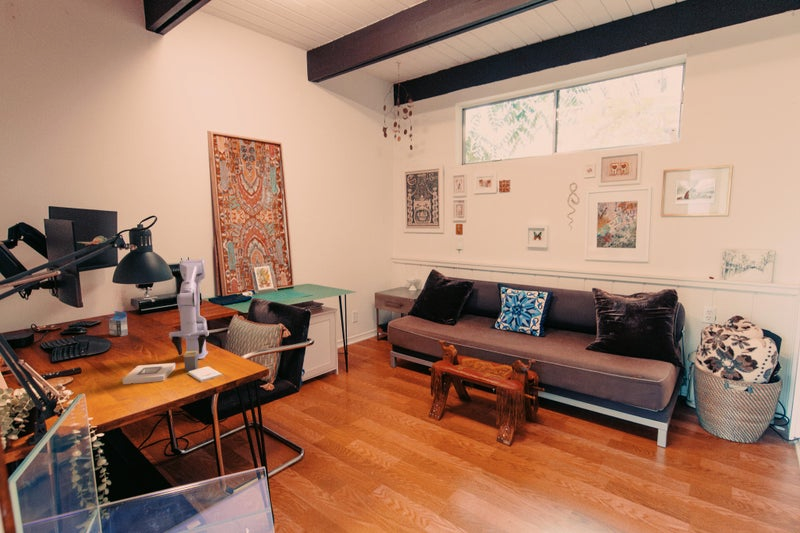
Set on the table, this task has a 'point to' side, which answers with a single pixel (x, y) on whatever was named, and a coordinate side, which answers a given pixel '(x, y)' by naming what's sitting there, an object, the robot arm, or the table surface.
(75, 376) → the table surface
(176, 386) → the table surface
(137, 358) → the table surface
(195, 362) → the plug
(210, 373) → the external hard drive
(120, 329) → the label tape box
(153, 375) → the socket
